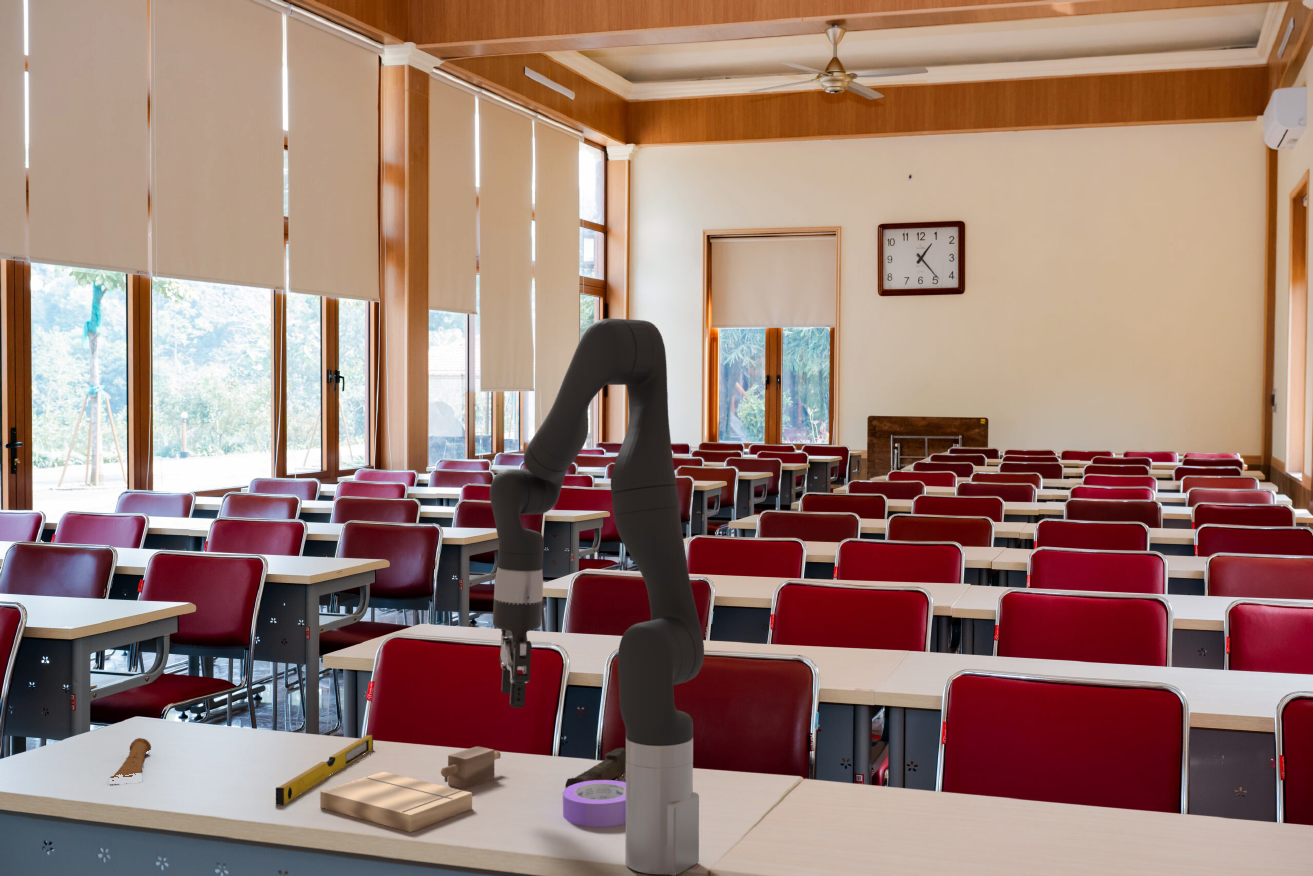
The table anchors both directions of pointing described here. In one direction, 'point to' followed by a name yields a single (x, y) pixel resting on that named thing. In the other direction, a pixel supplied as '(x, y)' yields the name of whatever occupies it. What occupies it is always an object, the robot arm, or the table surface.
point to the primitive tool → (134, 758)
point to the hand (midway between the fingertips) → (512, 700)
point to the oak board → (396, 801)
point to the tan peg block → (470, 767)
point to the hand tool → (604, 768)
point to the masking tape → (595, 803)
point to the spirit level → (323, 770)
